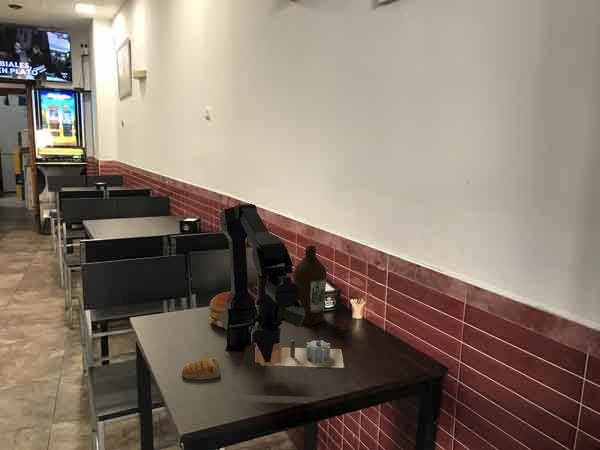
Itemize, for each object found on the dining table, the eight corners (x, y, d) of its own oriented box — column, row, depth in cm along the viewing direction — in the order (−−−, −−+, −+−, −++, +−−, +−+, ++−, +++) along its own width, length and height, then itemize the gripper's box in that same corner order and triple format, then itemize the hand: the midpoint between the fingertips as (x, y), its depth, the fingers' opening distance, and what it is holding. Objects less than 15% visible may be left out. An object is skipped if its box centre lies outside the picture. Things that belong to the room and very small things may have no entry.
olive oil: (285, 318, 163) (287, 244, 158) (308, 311, 170) (310, 240, 166) (308, 328, 155) (311, 250, 151) (331, 320, 163) (334, 245, 158)
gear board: (266, 369, 128) (266, 348, 127) (269, 351, 139) (269, 331, 138) (343, 372, 128) (344, 351, 127) (341, 353, 139) (341, 334, 138)
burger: (253, 316, 165) (253, 287, 163) (249, 332, 152) (249, 300, 150) (212, 315, 165) (212, 286, 163) (205, 331, 151) (204, 300, 150)
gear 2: (305, 362, 130) (306, 346, 129) (306, 351, 136) (306, 336, 135) (330, 363, 130) (330, 346, 129) (329, 352, 136) (329, 337, 135)
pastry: (183, 384, 120) (183, 369, 119) (179, 372, 126) (179, 358, 126) (222, 378, 123) (222, 363, 123) (216, 366, 130) (216, 352, 129)
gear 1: (254, 365, 117) (254, 351, 117) (256, 353, 123) (256, 340, 123) (281, 366, 117) (281, 352, 117) (282, 354, 123) (282, 341, 123)
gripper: (303, 308, 108) (301, 375, 111) (304, 283, 126) (302, 340, 129) (251, 307, 108) (251, 373, 111) (260, 281, 126) (259, 339, 129)
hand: (268, 355), depth 120 cm, fingers closed on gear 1, 6 cm apart
